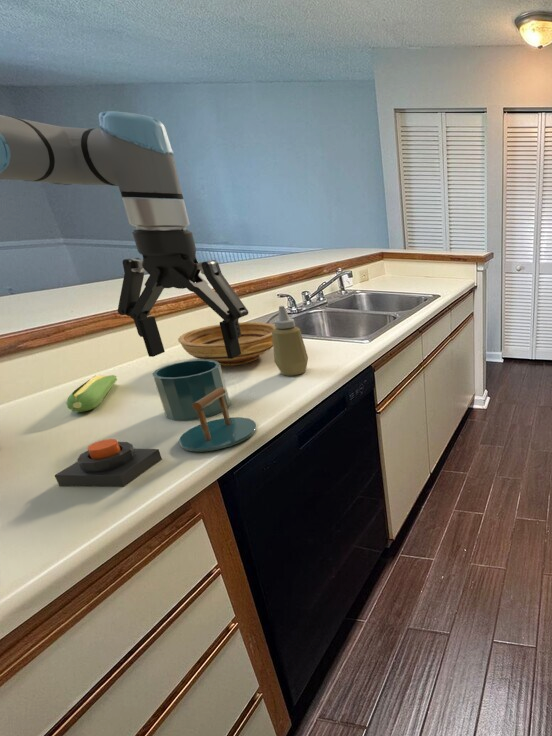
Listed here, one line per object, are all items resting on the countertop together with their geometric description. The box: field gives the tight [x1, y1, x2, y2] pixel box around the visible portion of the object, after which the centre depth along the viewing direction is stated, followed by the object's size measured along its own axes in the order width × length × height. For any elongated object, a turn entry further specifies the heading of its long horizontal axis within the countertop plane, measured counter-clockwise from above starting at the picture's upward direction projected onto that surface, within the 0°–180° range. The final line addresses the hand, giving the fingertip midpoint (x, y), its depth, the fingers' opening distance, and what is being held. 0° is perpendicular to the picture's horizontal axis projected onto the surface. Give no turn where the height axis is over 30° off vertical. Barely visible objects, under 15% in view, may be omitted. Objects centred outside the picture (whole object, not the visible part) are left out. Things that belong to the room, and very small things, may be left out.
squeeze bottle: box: [272, 305, 309, 377], centre depth 110 cm, size 8×8×18 cm
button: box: [87, 438, 121, 459], centre depth 68 cm, size 4×4×2 cm
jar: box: [151, 359, 231, 422], centre depth 90 cm, size 11×11×10 cm
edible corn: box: [66, 374, 118, 413], centre depth 95 cm, size 5×20×5 cm, turn 27°
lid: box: [178, 387, 258, 452], centre depth 79 cm, size 12×12×9 cm
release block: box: [54, 441, 163, 488], centre depth 69 cm, size 10×8×4 cm
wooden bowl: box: [177, 321, 276, 366], centre depth 121 cm, size 30×24×8 cm
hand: (196, 355), depth 75 cm, fingers open, 13 cm apart
